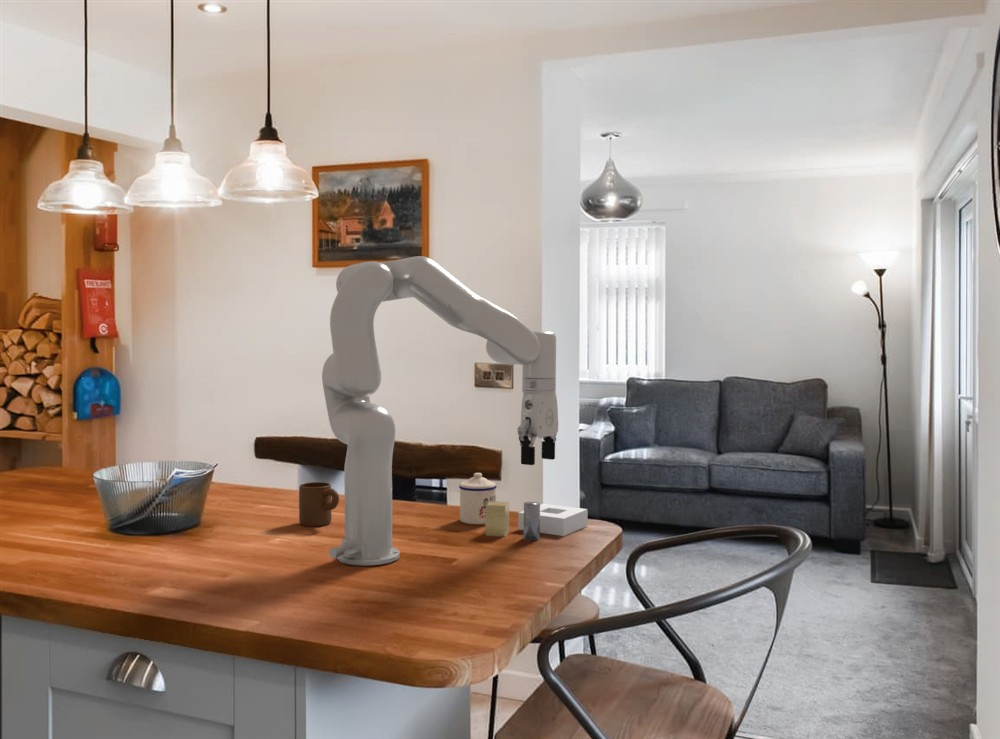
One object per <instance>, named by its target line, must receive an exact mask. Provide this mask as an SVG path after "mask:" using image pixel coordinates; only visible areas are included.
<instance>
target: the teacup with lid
mask: <svg viewBox="0 0 1000 739" xmlns="http://www.w3.org/2000/svg"><path fill="white" fill-rule="evenodd" d="M458 488H459V520H460V522H461V523H464V524H467V525H475V526H476V525H479V526H481V525H486V504H487V503H488V502H490V501H496V497H497V496H496V492H497V491H496V489H497V484H496V483H495V481H492V480H489V479H487V478H485V477H483V474H482V472H475V473H473V476H472V477H470V478H469V479H466V480H464V481H462V482H460V483H459V486H458Z"/></svg>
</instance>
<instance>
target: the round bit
mask: <svg viewBox="0 0 1000 739" xmlns="http://www.w3.org/2000/svg"><path fill="white" fill-rule="evenodd" d="M540 505H541V503H540V502H537V501H526V502H525V501H524V502H523V511H524V530H523V540H525V541H528V542H535V541H539V540H540V539H541V537H540V536H541V533H540Z"/></svg>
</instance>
